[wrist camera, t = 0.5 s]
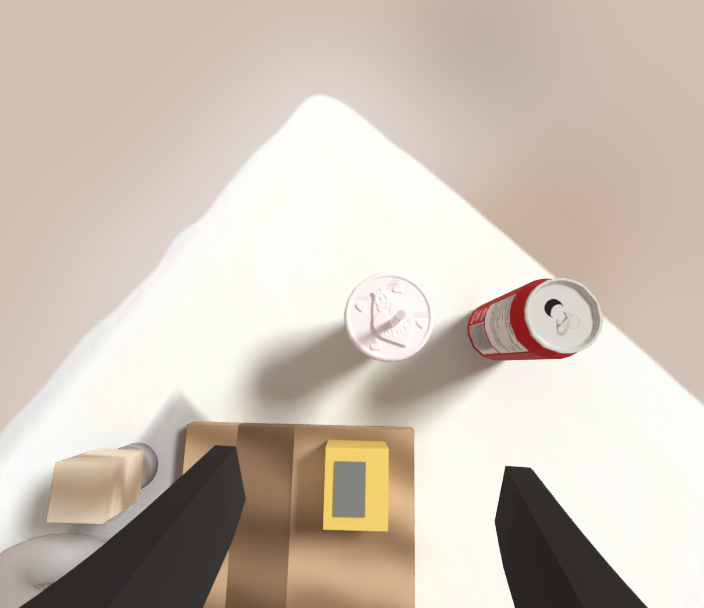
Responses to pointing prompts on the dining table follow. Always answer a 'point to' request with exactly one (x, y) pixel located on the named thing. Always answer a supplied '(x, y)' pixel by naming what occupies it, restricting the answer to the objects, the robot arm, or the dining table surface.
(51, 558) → the donut
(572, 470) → the dining table surface
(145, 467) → the wooden block with base
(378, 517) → the stud finder
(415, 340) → the smoothie
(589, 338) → the soda can
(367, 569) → the board
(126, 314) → the dining table surface
